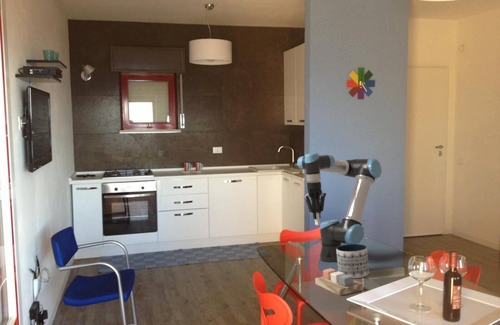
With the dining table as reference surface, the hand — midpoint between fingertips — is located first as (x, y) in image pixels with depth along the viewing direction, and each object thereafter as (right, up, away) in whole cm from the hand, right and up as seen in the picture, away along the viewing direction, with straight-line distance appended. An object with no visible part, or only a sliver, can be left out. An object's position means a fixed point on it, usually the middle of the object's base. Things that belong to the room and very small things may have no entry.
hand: (317, 224), depth 257 cm
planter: (+18, -25, -7) cm, 32 cm away
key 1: (+4, -25, -19) cm, 32 cm away
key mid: (+6, -25, -25) cm, 36 cm away
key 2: (+9, -25, -32) cm, 42 cm away
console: (+7, -27, -25) cm, 38 cm away
